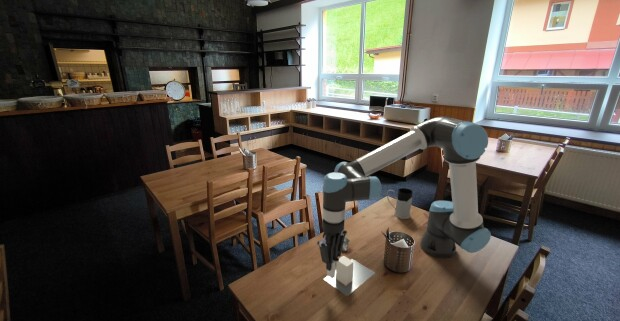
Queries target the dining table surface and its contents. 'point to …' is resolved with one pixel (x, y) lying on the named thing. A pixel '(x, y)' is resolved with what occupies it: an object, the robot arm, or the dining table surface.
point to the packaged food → (345, 244)
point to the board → (359, 278)
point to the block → (344, 270)
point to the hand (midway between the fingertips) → (330, 275)
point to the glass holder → (402, 203)
